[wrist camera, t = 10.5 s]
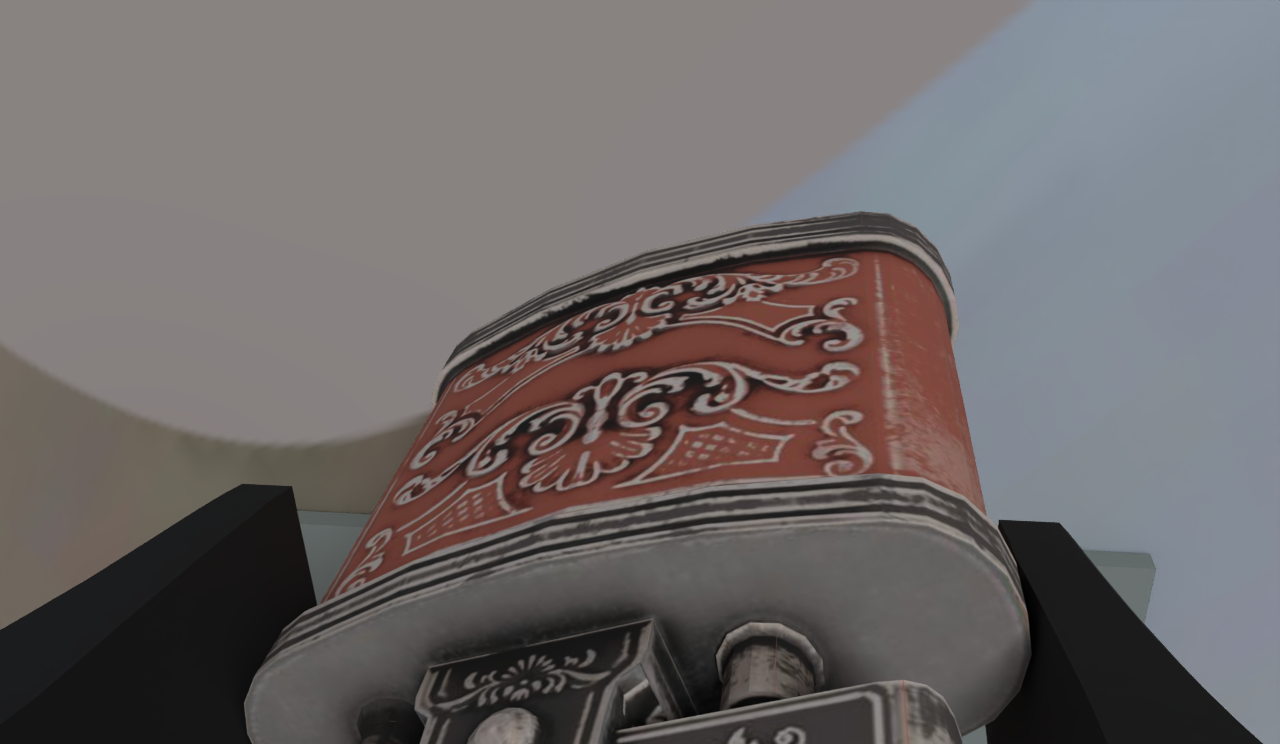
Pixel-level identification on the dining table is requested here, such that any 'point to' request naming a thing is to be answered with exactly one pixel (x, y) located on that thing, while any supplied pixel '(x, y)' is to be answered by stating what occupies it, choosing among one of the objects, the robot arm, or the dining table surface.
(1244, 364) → the dining table surface
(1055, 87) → the dining table surface
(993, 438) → the dining table surface
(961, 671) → the lighter
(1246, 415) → the dining table surface
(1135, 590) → the mat
